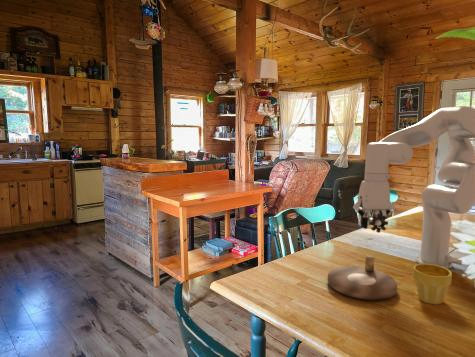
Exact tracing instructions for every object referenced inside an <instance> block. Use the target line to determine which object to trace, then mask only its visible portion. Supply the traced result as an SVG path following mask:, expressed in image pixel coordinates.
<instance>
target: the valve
mask: <svg viewBox="0 0 475 357" xmlns="http://www.w3.org/2000/svg"><path fill="white" fill-rule="evenodd" d="M359 209H360V210H362V208H361V207H359ZM370 213H371V210H369V212H368V214H367V218H368V225H367V227H369V226H372V227H370V229H371V231H374V232H376V233H378V234H379V233H381V230H382V231H386V227H385V226H387V225H389V222H388V221H386V220H387V217H386V216H383V218H382V217H381V216H382V215H381V214H379V213H377V216H376V215H371V214H370ZM357 218H358V221H357V225H358V226H359V227H361V216H360V214H359V213H358V215H357ZM378 219H379V220H378ZM381 221H383V225H382V226H381V227H378V226H380V225H381Z"/></svg>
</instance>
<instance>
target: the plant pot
mask: <svg viewBox="0 0 475 357" xmlns="http://www.w3.org/2000/svg"><path fill="white" fill-rule="evenodd" d="M412 273H413V278H414V280H415V283H416V284H415V285H416V289H417V290H416V291H417V296H418V299H419V300H420V301H422V302H423V303H427V304H431V305H441V304H442V303H444V300H445V297H446V295H447V291H448V288H449V286H451V285H452V278H453V272H452V271H451V270H450V269H446V268H444V267H442V266H438V265H433V264H419V263H417V264H415V265H414V266H413V271H412Z"/></svg>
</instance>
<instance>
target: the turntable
mask: <svg viewBox="0 0 475 357" xmlns="http://www.w3.org/2000/svg"><path fill="white" fill-rule="evenodd" d="M364 263H365V264H364V266H354V265H353V266H350V265H349V266H348V265H347V266H339V267H335V268H333V269H331V270H330V271H329V272H328V274H327V283H328V285H329V286H330V288H332V289H334V290H335V291H336V292H339V293H340V294H343V295H345V296H348V297H352V298H357V299H362V300H370V301H371V300H374V301H377V300H385V299H390V298H391V297H394V296H395V295H397V293H398V283H397V281H396V279H394V278H393V277H392V276H390V275H389V274H387V273H385V272H382V271H380V270H376V269H375V256H374V255H371V254H367V255H365V261H364Z"/></svg>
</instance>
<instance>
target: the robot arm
mask: <svg viewBox="0 0 475 357" xmlns="http://www.w3.org/2000/svg"><path fill="white" fill-rule="evenodd" d="M446 132H447V136H448V139H449V143H450V145H449V146H450V149H449V151H448V153H447V155H446V156H445V158H444V160H443V162H442V163H441V166H440V168H439V170H438V173H437V180H438V181H439V182H441V183H442V184H438V183H437V184H430V185H427V186H425V187H424V189H423V190H422V192H421V202H422V212H423V213H422V216H423V217H422V227H421V228H422V230H421V243H420V255H417V256H415V262H416V263H417V264H433V265H438V266H442V267H444V268H446V269H448V270H450V269H451V268H453V264H455V265H459V266H462V264H463V259H459V257H455V256H454V257H453V256H451V252H450V239H451V231H452V230H451V227H452V220H451V216H450V213H451V214H456V215H464V214H467V213H468V212H469V211H471V209H472V208H473V206H474V205H475V162H473V160H474V158H475V146H474V145H473V143H472V142H471V139H475V107H472V106H465V105H462V106H461V105H458V106H447V107H442V108H439V109H436V110H435V111H434V112H432V113H430V114H429V115H428V116H426V117H424V118H423V119H421V120H420V121H419V122H417V123H415V124H413V125H411V126H407V127H406V128H403V129H400V130H397V131H395V132H393V133H391V134H389V135H387V136H386V137H383V138H382V139H381V140H379V141H378V142H369V143H368V144H367V145H366V148H365V149H366V150H365V161H364V162H365V164H364V166H365V167H364V180H362V181H361V182H360V185H359V189H358V190H359V191H358V197H357V202H356V203H355V204H354V205H353V206H352V208H353V210H355V212H357V214H358V215H359V214H360V216H361V226H360V227H361V228H363V229H365V230H366V229H368V226H367V225H368V218H367V214H368V212H369V210H370V211H378V214H381V215H382V216H381V217H382V218H383V216H386V217H387V216H388V215H389V214H390V213H391V212H392V211H393V210H394V209H395V206H394V204H393V203H392V202H391V191H390V190H391V189H390V182H389V181H388V180H389V179H391V177H392V176H391V174H389V164H394V165H395V164H396V165H403V164H406V163H409V161H411V160H412V158H413V155H414V150H413V148H414V147H415V148H416V147H421V146H425V145H429V144H430V143H432V142H434V141H435V140H436V139H438V138H439V137H442V135H444V134H445V133H446ZM443 184H444V185H443ZM360 207H361V208H362V210H360V209H359V208H360ZM377 220H379V219H377ZM382 225H383V221H381V225H380V226H377V227H378V228H379V227H381V226H382Z"/></svg>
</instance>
